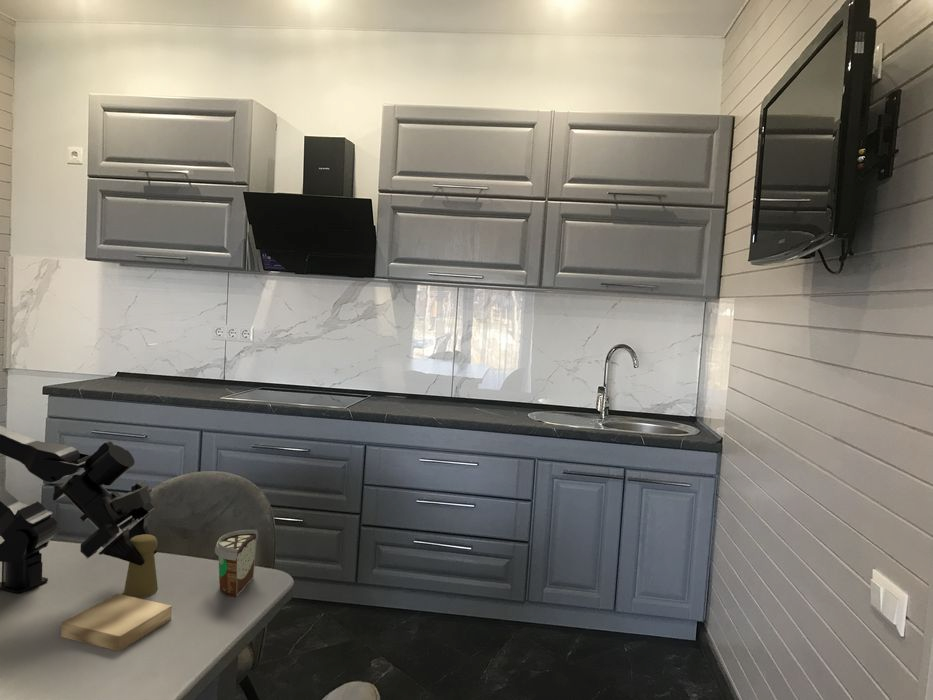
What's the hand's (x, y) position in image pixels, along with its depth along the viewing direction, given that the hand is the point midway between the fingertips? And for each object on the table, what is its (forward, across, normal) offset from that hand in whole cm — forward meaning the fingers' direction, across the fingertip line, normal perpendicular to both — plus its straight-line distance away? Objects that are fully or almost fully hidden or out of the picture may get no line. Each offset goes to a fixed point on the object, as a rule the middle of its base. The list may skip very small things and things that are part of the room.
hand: (149, 558), depth 128 cm
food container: (+15, +4, -6) cm, 17 cm away
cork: (+4, 0, +6) cm, 7 cm away
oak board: (+6, -14, +4) cm, 16 cm away
